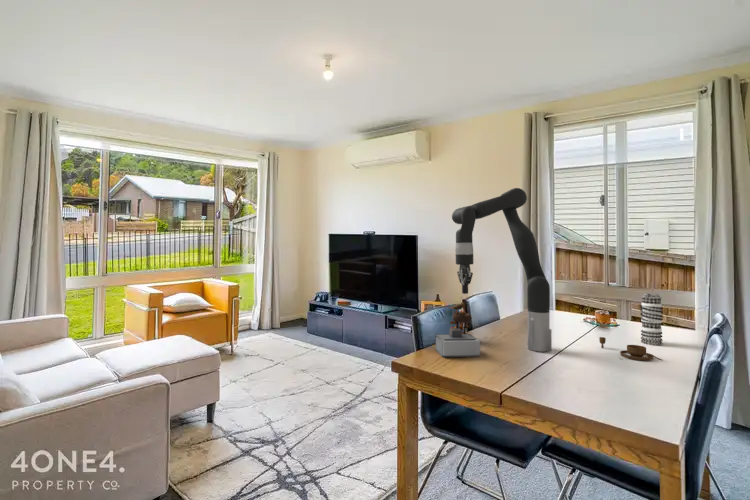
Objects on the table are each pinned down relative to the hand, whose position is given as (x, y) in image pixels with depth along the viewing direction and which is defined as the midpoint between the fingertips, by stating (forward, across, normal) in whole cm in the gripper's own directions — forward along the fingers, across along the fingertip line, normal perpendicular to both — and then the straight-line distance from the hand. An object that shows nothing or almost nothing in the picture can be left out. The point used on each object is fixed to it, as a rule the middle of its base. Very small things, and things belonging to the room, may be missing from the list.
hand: (465, 293), depth 167 cm
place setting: (+29, +5, +73) cm, 78 cm away
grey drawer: (+27, -4, -3) cm, 27 cm away
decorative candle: (+29, -8, +96) cm, 100 cm away
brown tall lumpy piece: (+27, -24, +6) cm, 37 cm away
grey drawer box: (+27, -4, -3) cm, 27 cm away
